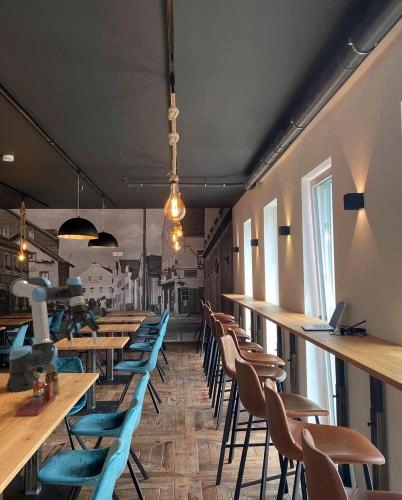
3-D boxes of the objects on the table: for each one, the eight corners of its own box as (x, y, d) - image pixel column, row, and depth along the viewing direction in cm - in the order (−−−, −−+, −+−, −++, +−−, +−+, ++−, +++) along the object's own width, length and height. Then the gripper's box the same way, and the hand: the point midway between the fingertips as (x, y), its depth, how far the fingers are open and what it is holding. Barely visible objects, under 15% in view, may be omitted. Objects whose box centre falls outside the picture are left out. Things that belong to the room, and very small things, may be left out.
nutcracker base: (36, 400, 222) (36, 380, 222) (55, 399, 222) (55, 380, 223) (16, 415, 197) (16, 393, 197) (38, 415, 197) (38, 393, 198)
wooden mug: (39, 398, 225) (39, 363, 226) (44, 391, 238) (45, 358, 239) (56, 397, 226) (56, 363, 227) (61, 390, 239) (61, 358, 240)
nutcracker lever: (39, 389, 219) (40, 384, 220) (48, 389, 219) (48, 384, 220) (23, 375, 199) (24, 370, 201) (33, 375, 199) (34, 370, 201)
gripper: (58, 305, 217) (64, 347, 211) (101, 302, 234) (108, 340, 228) (52, 309, 222) (58, 350, 216) (95, 306, 239) (101, 343, 233)
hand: (84, 345), depth 222 cm, fingers open, 13 cm apart
